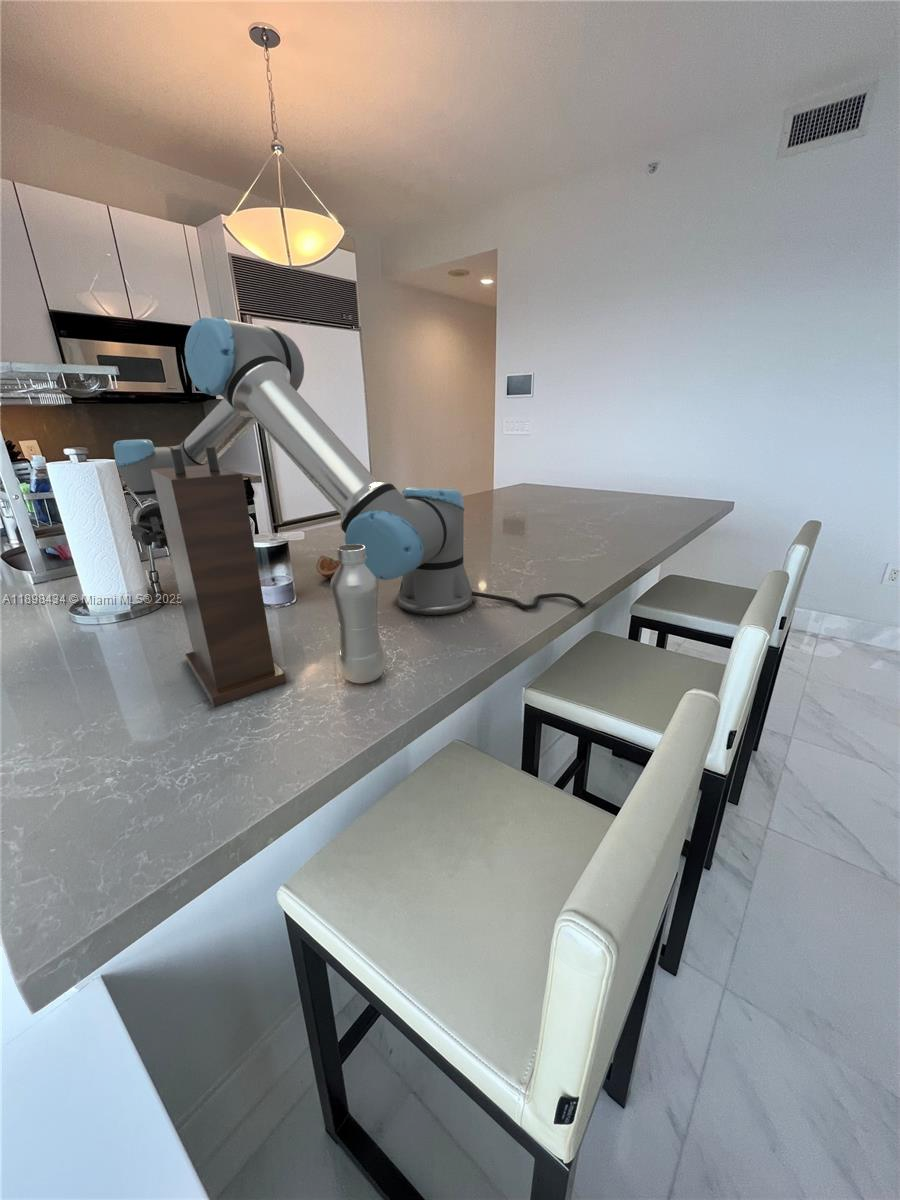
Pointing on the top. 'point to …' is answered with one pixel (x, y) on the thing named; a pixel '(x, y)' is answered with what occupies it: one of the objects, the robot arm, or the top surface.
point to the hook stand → (217, 577)
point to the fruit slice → (327, 566)
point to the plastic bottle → (357, 616)
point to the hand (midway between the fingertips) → (180, 543)
